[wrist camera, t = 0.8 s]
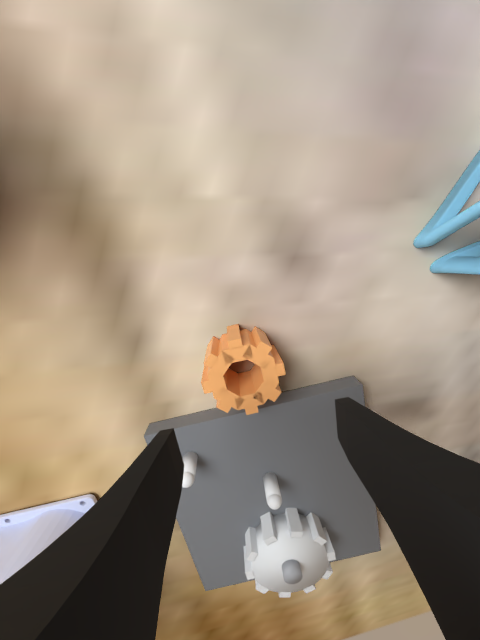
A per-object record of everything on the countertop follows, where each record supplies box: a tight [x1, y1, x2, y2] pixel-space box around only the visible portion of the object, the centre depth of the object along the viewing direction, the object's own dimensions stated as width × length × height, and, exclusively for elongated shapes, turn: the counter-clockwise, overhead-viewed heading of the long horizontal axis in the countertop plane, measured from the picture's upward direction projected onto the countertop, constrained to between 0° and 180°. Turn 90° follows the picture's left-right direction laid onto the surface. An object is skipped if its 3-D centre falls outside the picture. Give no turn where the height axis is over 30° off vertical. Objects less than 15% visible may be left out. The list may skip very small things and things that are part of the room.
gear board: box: [144, 376, 381, 597], centre depth 21 cm, size 18×19×4 cm
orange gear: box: [201, 324, 286, 415], centre depth 18 cm, size 6×6×4 cm
